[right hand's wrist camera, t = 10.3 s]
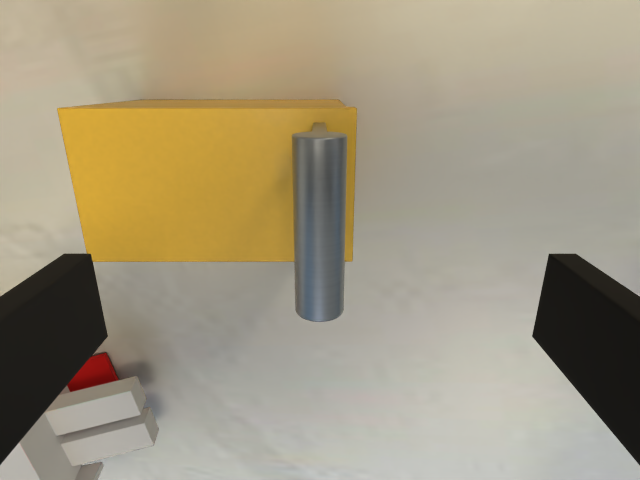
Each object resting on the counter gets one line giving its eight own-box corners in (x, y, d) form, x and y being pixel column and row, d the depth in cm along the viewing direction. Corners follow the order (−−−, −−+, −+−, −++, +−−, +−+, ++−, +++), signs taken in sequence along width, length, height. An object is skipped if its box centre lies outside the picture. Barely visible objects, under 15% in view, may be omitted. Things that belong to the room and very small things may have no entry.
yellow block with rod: (355, 107, 24) (375, 120, 15) (351, 254, 27) (365, 334, 19) (67, 106, 24) (-72, 120, 15) (97, 255, 27) (-6, 334, 19)
